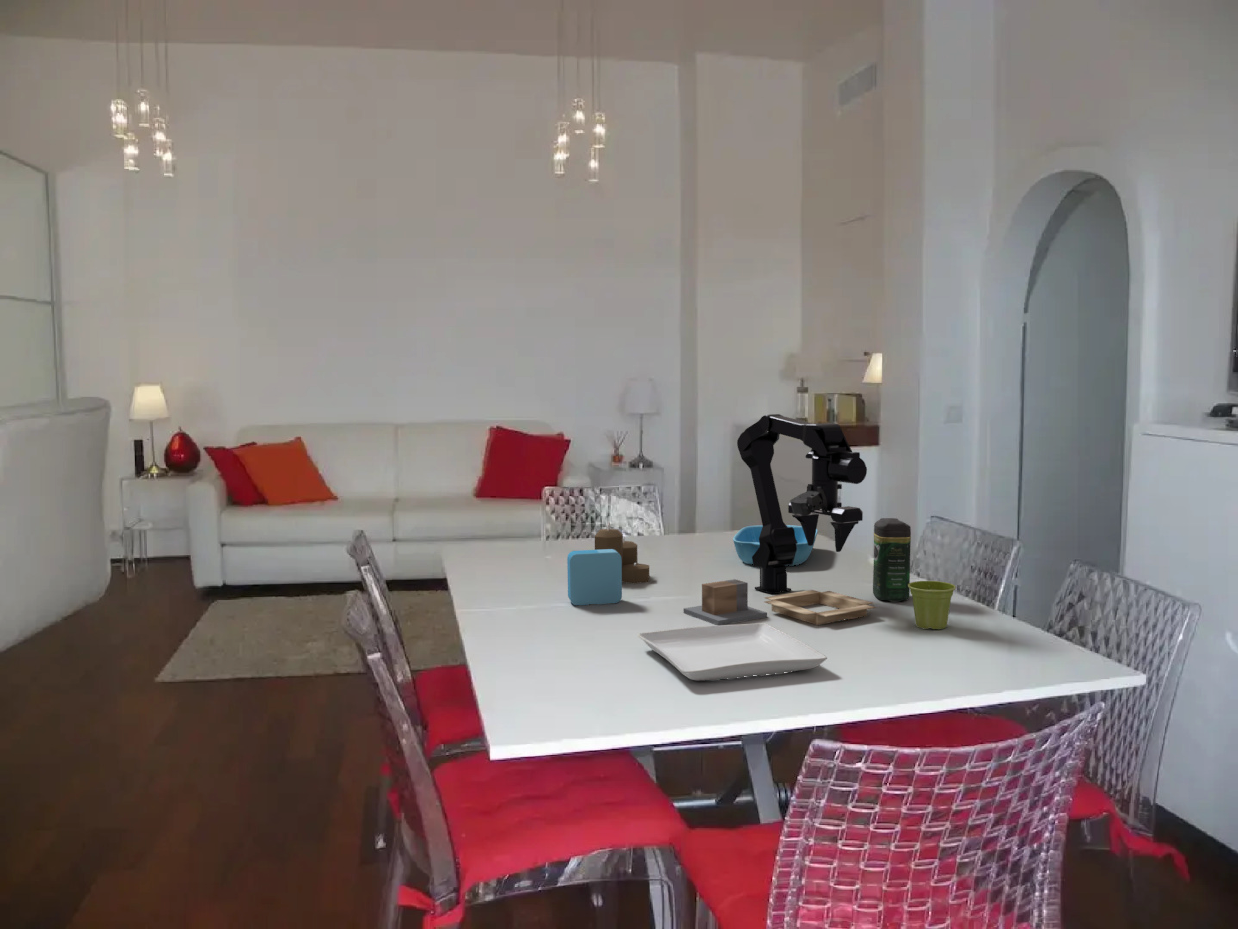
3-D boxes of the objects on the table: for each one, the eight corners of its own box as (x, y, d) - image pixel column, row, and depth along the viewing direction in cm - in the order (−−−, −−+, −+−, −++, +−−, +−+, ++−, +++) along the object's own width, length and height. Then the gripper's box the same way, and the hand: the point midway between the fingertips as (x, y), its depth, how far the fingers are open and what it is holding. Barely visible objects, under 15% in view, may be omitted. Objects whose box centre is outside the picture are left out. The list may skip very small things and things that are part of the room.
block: (702, 611, 223) (701, 584, 223) (735, 605, 228) (735, 579, 227) (714, 615, 219) (714, 587, 219) (747, 609, 224) (747, 582, 223)
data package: (618, 599, 240) (618, 548, 239) (622, 603, 236) (621, 552, 235) (567, 601, 238) (567, 550, 237) (570, 606, 233) (569, 554, 232)
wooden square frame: (755, 609, 228) (755, 598, 228) (820, 599, 238) (820, 588, 237) (816, 629, 211) (816, 617, 211) (883, 617, 220) (883, 605, 220)
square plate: (829, 676, 181) (830, 655, 180) (684, 692, 173) (684, 670, 172) (765, 638, 206) (765, 619, 206) (635, 650, 199) (635, 630, 198)
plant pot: (930, 634, 206) (931, 592, 205) (897, 624, 214) (898, 583, 214) (964, 628, 210) (965, 587, 209) (931, 618, 219) (932, 578, 218)
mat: (683, 612, 226) (683, 608, 226) (730, 605, 233) (730, 600, 232) (718, 625, 215) (718, 620, 215) (767, 617, 221) (767, 612, 221)
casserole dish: (744, 544, 310) (744, 521, 310) (819, 547, 305) (819, 523, 304) (727, 568, 275) (727, 542, 274) (811, 572, 269) (812, 545, 269)
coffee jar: (913, 602, 233) (914, 522, 231) (878, 602, 233) (879, 522, 232) (903, 593, 243) (904, 515, 241) (869, 593, 243) (870, 516, 241)
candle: (606, 587, 253) (605, 527, 252) (584, 576, 265) (583, 519, 264) (655, 581, 259) (655, 522, 257) (632, 571, 271) (631, 515, 270)
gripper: (769, 478, 233) (769, 546, 234) (826, 486, 217) (825, 559, 218) (807, 475, 238) (807, 541, 240) (864, 482, 222) (863, 553, 224)
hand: (824, 548), depth 230 cm, fingers open, 9 cm apart
